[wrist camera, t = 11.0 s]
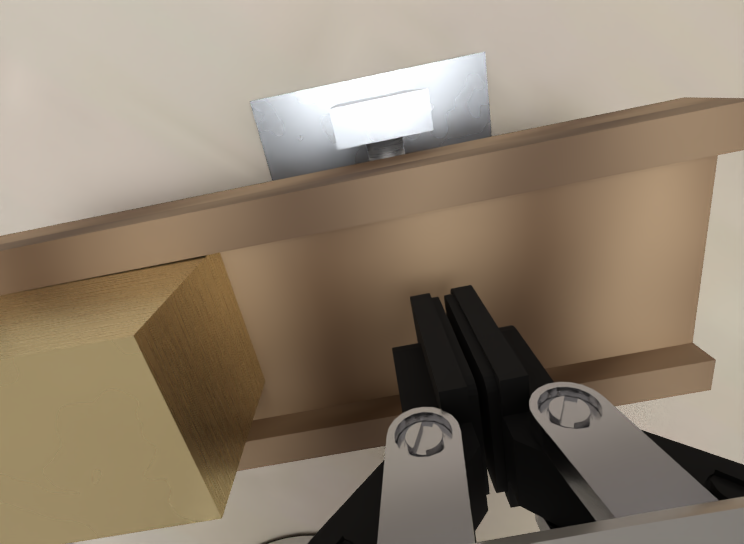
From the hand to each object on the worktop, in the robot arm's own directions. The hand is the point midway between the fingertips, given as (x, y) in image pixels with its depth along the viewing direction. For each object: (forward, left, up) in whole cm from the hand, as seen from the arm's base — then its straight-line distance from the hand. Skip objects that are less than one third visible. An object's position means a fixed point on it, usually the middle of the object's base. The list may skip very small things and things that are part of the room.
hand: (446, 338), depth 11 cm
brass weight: (+1, +9, -2) cm, 9 cm away
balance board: (0, +3, -4) cm, 4 cm away
